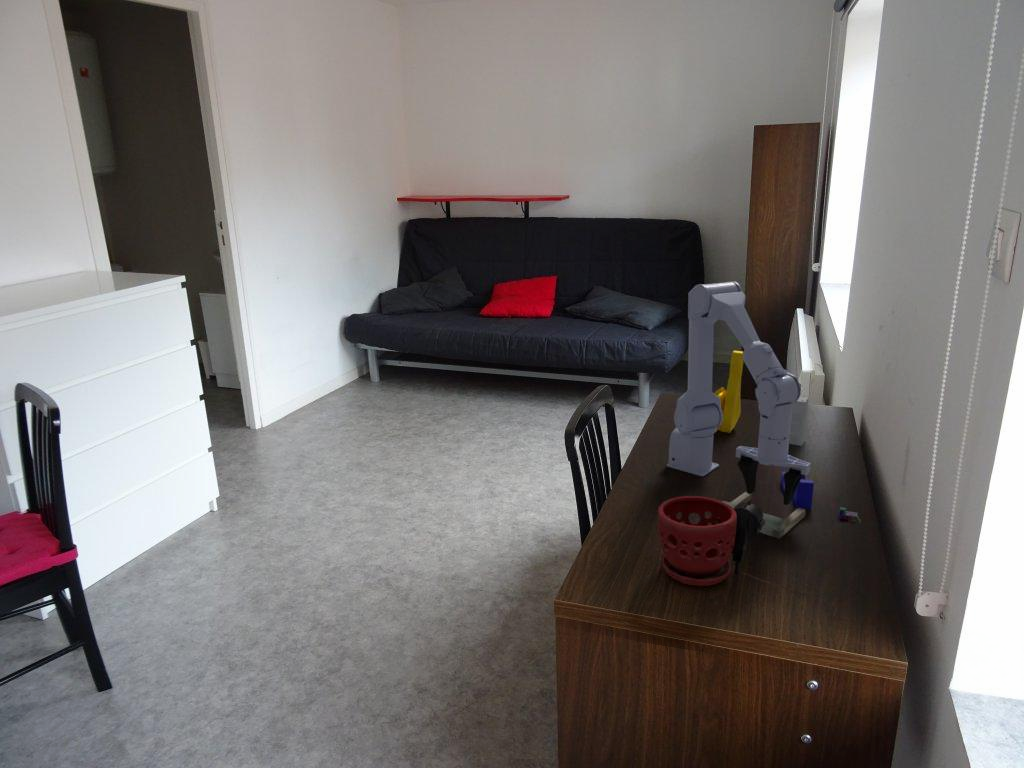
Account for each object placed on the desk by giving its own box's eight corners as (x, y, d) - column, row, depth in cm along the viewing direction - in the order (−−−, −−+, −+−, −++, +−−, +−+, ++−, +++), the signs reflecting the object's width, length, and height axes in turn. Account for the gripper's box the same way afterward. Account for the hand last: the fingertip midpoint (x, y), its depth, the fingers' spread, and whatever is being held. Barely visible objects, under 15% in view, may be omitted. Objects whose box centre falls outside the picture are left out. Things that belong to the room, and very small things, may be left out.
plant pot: (741, 563, 128) (746, 502, 124) (720, 600, 117) (725, 534, 114) (670, 546, 134) (673, 487, 131) (644, 579, 124) (646, 516, 120)
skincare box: (805, 442, 182) (809, 397, 179) (801, 447, 179) (806, 402, 175) (780, 438, 185) (784, 394, 182) (776, 443, 182) (780, 398, 178)
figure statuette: (714, 418, 201) (719, 342, 195) (743, 422, 198) (749, 344, 191) (702, 440, 185) (707, 357, 179) (734, 444, 182) (739, 360, 176)
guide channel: (717, 518, 144) (718, 503, 143) (744, 498, 152) (745, 484, 152) (779, 538, 136) (780, 523, 135) (804, 516, 144) (806, 501, 143)
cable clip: (780, 484, 159) (782, 459, 158) (802, 485, 158) (804, 460, 157) (787, 508, 148) (790, 481, 146) (811, 509, 147) (813, 483, 145)
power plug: (719, 571, 125) (723, 509, 122) (735, 553, 131) (739, 493, 127) (751, 581, 122) (756, 518, 118) (766, 562, 127) (771, 501, 124)
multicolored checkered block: (838, 522, 142) (839, 511, 141) (838, 516, 145) (840, 505, 144) (862, 526, 140) (863, 515, 140) (861, 519, 143) (863, 509, 142)
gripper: (730, 432, 143) (726, 494, 147) (802, 449, 134) (796, 515, 138) (746, 422, 148) (742, 483, 152) (817, 438, 139) (810, 502, 143)
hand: (768, 497), depth 145 cm, fingers open, 7 cm apart
